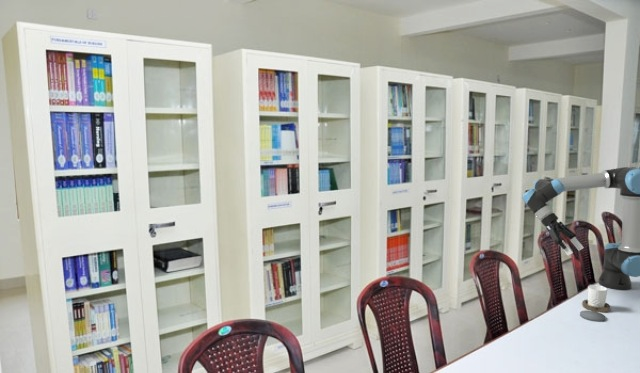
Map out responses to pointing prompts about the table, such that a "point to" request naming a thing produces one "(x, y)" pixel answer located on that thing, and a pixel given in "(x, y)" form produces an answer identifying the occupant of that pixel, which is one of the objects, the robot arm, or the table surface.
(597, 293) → the white cup
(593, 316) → the coaster
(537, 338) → the table surface
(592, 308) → the collar
